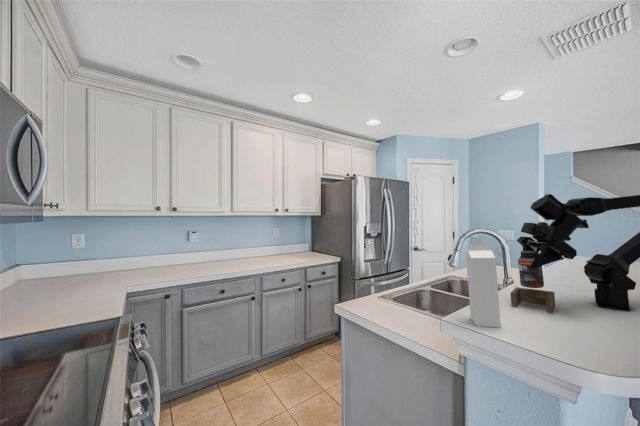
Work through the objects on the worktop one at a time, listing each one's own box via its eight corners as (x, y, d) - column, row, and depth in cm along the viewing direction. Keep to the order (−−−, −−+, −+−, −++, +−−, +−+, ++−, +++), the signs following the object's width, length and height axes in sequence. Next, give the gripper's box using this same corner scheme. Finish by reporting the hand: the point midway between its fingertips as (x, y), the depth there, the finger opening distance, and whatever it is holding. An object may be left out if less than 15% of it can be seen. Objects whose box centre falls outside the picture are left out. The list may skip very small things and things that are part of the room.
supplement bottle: (542, 284, 83) (539, 250, 84) (545, 289, 79) (542, 252, 79) (519, 283, 87) (516, 250, 87) (520, 287, 82) (517, 252, 82)
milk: (470, 318, 76) (464, 244, 77) (494, 319, 74) (487, 243, 75) (476, 326, 70) (469, 246, 72) (501, 328, 69) (494, 245, 70)
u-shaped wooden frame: (555, 305, 82) (554, 291, 82) (552, 313, 76) (550, 298, 77) (517, 300, 90) (516, 287, 90) (511, 306, 84) (510, 292, 84)
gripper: (520, 214, 92) (490, 246, 93) (561, 212, 74) (522, 252, 75) (546, 234, 91) (515, 267, 92) (595, 238, 72) (555, 278, 74)
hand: (525, 265), depth 83 cm, fingers closed on supplement bottle, 6 cm apart
